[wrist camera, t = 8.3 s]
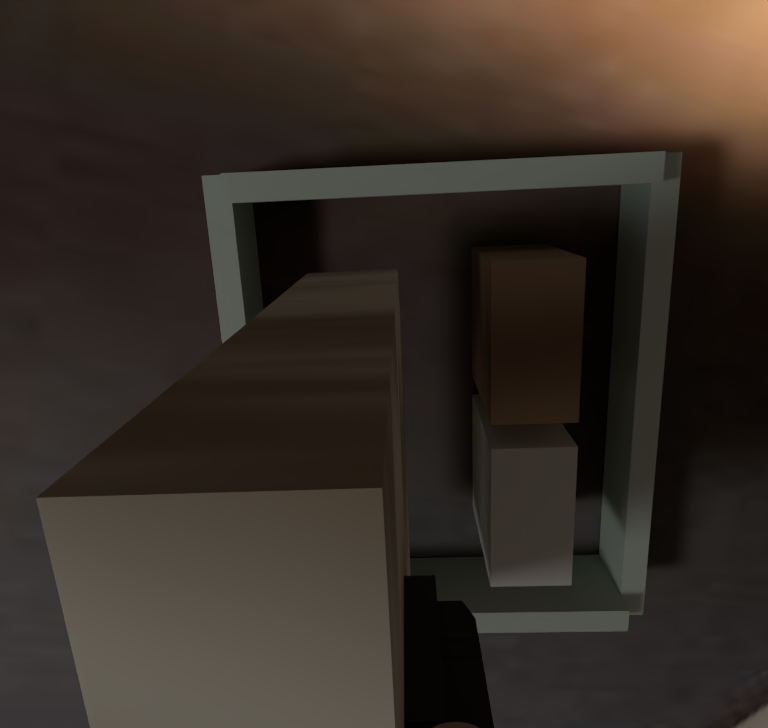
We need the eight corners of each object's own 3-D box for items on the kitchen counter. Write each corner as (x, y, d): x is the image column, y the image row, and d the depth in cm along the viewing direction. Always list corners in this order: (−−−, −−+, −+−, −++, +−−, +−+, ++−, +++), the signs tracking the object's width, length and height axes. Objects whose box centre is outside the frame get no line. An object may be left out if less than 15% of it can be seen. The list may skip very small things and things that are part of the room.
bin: (225, 178, 24) (191, 174, 20) (648, 157, 23) (696, 149, 20) (271, 578, 29) (251, 636, 25) (618, 572, 28) (652, 630, 25)
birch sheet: (307, 273, 20) (35, 498, 5) (397, 269, 19) (381, 487, 5) (333, 583, 23) (213, 1252, 8) (411, 582, 23) (423, 1257, 8)
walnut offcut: (471, 246, 25) (491, 262, 19) (543, 243, 24) (586, 257, 19) (472, 375, 26) (490, 425, 20) (540, 372, 26) (578, 422, 20)
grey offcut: (472, 394, 26) (490, 449, 21) (539, 392, 26) (577, 446, 20) (472, 506, 28) (490, 586, 22) (536, 504, 28) (571, 585, 22)
